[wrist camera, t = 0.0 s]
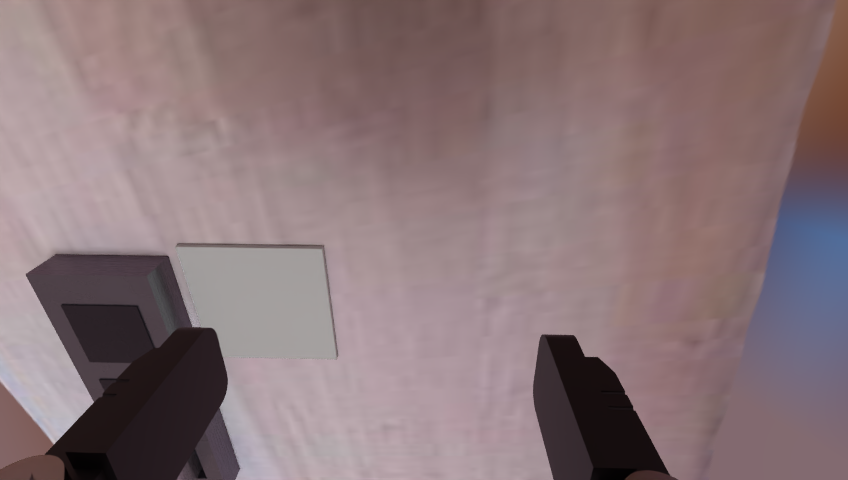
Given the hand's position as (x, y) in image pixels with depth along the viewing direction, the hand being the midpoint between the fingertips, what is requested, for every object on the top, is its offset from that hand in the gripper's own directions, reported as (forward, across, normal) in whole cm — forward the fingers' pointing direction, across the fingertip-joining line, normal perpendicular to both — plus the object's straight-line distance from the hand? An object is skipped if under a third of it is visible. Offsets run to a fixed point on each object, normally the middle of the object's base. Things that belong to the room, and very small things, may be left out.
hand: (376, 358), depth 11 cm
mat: (+18, +11, +10) cm, 23 cm away
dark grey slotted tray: (+18, +21, +18) cm, 34 cm away
